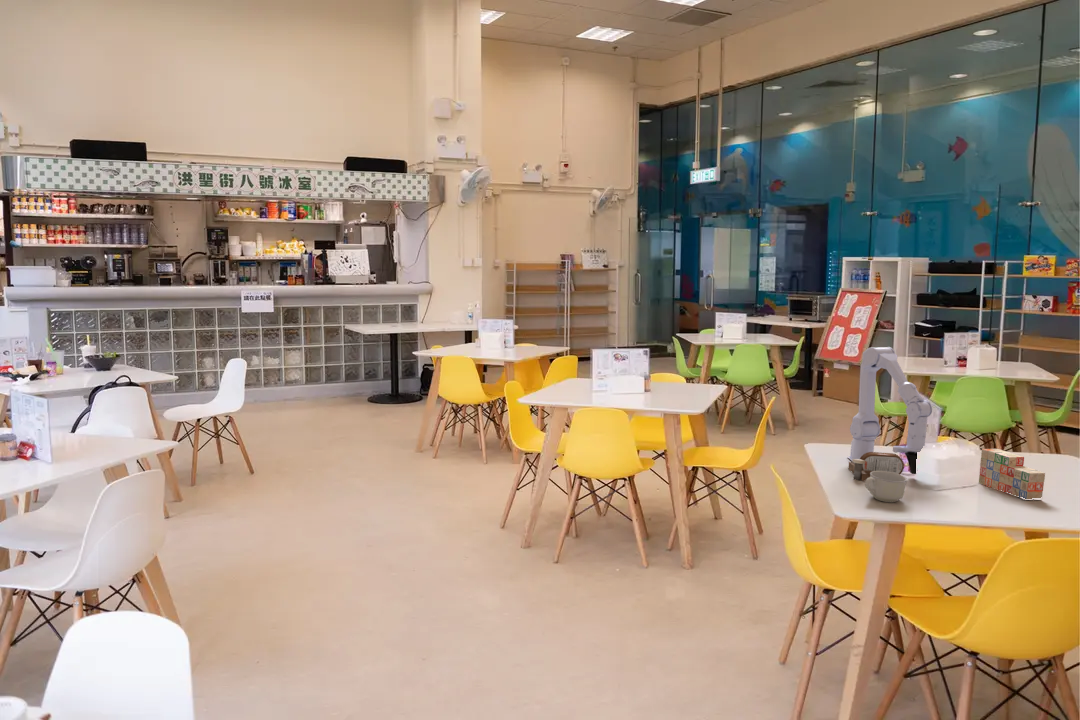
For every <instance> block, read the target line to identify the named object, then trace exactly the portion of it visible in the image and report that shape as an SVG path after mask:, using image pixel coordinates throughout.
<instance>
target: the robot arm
mask: <svg viewBox="0 0 1080 720" xmlns="http://www.w3.org/2000/svg"><path fill="white" fill-rule="evenodd" d="M898 357H899V356H898V355H897V353H896V351H895V350H894V348H893V347H890V346H887V347H872V346H871V347H868V348H866V349H865V350H864V351H863V352H862V361H861V364H860V368H859V369H860V373H859V391H858V393H859V396H858V412H857V414H855V415H854V416H853V417H852V420H851V421H852V422H851V424H850V427H849V431H850V435H851V436H852V440H851V443H850V453H849V455H850V456H847V459H848V460H850V462H852V461H853V459H860V457H861V456H862V455H863V454H865V453H868V452H875V451H874V450H875V440H877V437H878V436H880V433H881V425H880V421H879V420H880V419H879V417H878V416H877V415H876V414H875V410H876V409H875V408H876V407H875V406H876V405H875V403H876V385H877V384H876V382H877V372H878V371H879V370H880V369H884V370H886V371H887V372H888V374H889V375H890V377H891V378H892V379H893V381H894V382H895V383H896V385H897V386H898V387H897V393H898V394H899V396H900V398H901V399H902V401H903V403H904V404H905V406H906V408H905V412H906V415H907V420H908V426H907V428H908V429H907V438H906V445H893V446H892V452H893V453H894V454H896V453H904V454H905V457H906V459H907V461H908V466H909V473H910V474H912V475H917V473H916V459H917V452H920V451H921V449H922V448H923V446H925V447H926V435H927V426H928V417H930V416H931V414H932V413H933V408H932V405H931V403H930V401H928V400H926V399H924V398H923V396H922V395H921V394H920V392H919V391H918V389H917V386H916V384H914V383H912V382H910V381H908V379H907V377H906V375H905V373H904V372H903V369H902V368H901V366H900V363H899V362H898Z"/></svg>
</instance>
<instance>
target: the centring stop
mask: <svg viewBox="0 0 1080 720" xmlns="http://www.w3.org/2000/svg"><path fill="white" fill-rule="evenodd" d="M864 463H865V461H864V460H861V459H853V461H849V462H848V467H847V469H848V470H849V471H850V472H851V471H852V472H853V473H852V472H851V473H852V474H853V478H854V479H853V480H855V479H856V480H855V481H863V482H865V481H866V479H867V478H869V477H870V472H872V471H868V470H862V464H864Z"/></svg>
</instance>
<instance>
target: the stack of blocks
mask: <svg viewBox="0 0 1080 720" xmlns="http://www.w3.org/2000/svg"><path fill="white" fill-rule="evenodd" d="M980 454H981V456H980V462H979V463H980V464H979V466H980V467H979V476H978V484H981V485H983V486H985V485H986V486H985V487H988V486H989V488H991V487H992V488H991V489H993V488H995V489H994V490H996V489H998V490H997V491H999V490H1002V491H1004V492H1008V493H1011V494H1013V495H1016V496H1019V497H1023V498H1025V499H1032V498H1041V497H1042V498H1043V491H1044V483H1045V479H1046V472H1043V471H1040V470H1038V469H1034V468H1031V467H1028V466H1025V465H1024V464H1025V457H1024V456H1022V455H1019V454H1016V453H1013V452H1009V451H1006V450H1003V449H1000V448H982V449H981V452H980ZM1004 492H1003V493H1004Z"/></svg>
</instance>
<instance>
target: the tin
mask: <svg viewBox="0 0 1080 720" xmlns="http://www.w3.org/2000/svg"><path fill="white" fill-rule="evenodd" d="M860 459H861V460H864V461H865V463H864V464H862V470H868V471H887V472H892V473H896V474H899V475H902V474H903V472H904V468H905V464H904V463H905V462H904V461H903V459H902V458H901V456H899V455H898V454H896V453H894V452H893V453H892V452H880V451H879V452H877V451H874V452H868V453H865V454H863V455H862V456H861V457H860Z"/></svg>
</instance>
